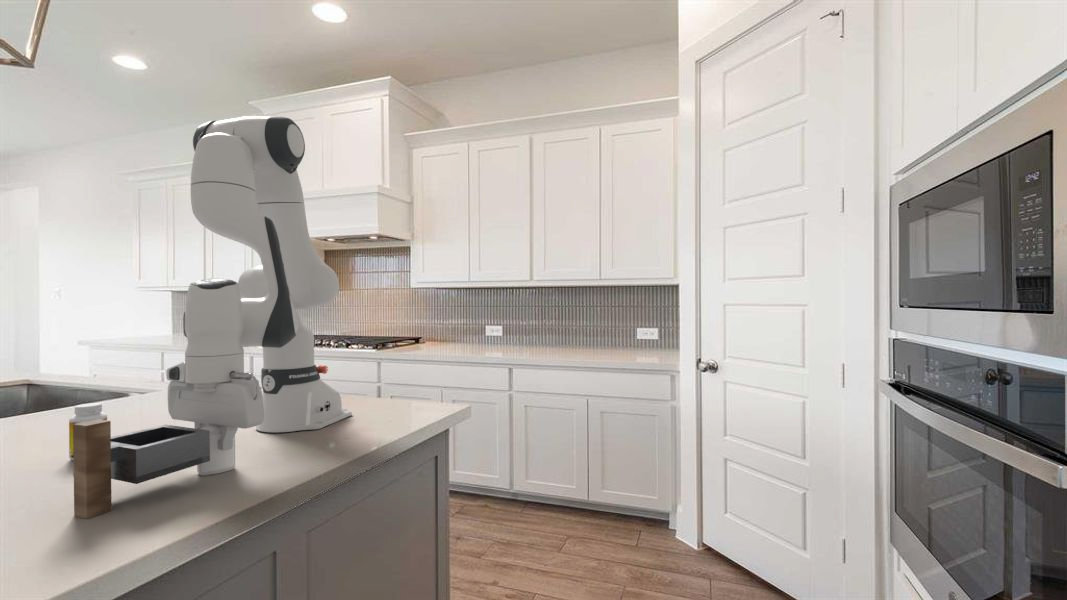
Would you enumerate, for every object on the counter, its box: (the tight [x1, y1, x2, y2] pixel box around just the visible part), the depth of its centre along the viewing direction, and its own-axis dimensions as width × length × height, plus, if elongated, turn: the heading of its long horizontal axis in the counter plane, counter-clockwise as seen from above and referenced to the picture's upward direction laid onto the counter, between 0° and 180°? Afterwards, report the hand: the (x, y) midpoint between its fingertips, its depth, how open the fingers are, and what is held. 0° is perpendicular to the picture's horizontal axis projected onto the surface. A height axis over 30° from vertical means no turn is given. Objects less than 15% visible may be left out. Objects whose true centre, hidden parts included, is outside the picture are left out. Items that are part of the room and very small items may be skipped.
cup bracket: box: [73, 419, 210, 520], centre depth 78 cm, size 15×11×13 cm
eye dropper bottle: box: [196, 424, 236, 477], centre depth 89 cm, size 4×6×12 cm
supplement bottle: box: [68, 402, 108, 462], centre depth 98 cm, size 6×6×10 cm
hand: (216, 448), depth 89 cm, fingers closed on eye dropper bottle, 3 cm apart
